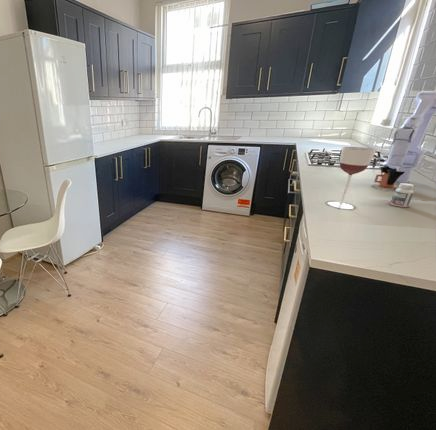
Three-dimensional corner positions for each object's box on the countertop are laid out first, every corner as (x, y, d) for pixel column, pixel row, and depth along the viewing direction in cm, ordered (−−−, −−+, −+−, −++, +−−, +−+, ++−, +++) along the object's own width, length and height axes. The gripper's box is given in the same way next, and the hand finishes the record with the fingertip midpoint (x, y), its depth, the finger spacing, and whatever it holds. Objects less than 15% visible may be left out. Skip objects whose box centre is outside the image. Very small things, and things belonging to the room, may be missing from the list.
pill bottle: (400, 203, 117) (408, 182, 113) (411, 207, 112) (420, 186, 108) (386, 202, 117) (394, 182, 114) (397, 207, 112) (405, 185, 109)
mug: (390, 185, 138) (395, 172, 136) (395, 188, 133) (401, 174, 131) (370, 183, 141) (374, 170, 138) (375, 186, 136) (380, 173, 133)
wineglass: (361, 210, 109) (382, 150, 101) (332, 208, 111) (350, 150, 102) (347, 202, 118) (366, 147, 109) (321, 200, 119) (337, 146, 111)
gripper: (379, 152, 139) (370, 178, 144) (394, 157, 126) (383, 186, 131) (397, 152, 136) (387, 180, 141) (414, 158, 124) (402, 187, 129)
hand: (386, 183), depth 136 cm, fingers closed on mug, 5 cm apart
